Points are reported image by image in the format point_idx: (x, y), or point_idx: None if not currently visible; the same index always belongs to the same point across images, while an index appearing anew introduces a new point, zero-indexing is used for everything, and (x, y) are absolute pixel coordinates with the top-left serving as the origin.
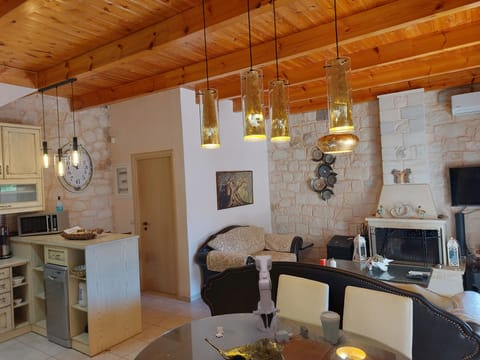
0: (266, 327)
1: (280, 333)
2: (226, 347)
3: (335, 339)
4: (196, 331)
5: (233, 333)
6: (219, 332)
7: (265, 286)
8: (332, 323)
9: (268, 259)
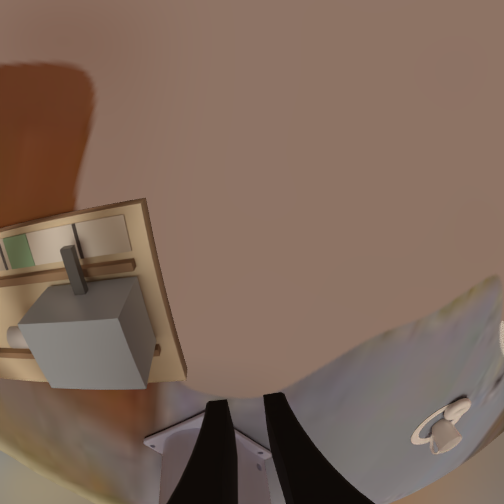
0: (272, 402)
1: (91, 345)
2: (488, 300)
3: None
4: (484, 426)
5: (390, 434)
6: (451, 424)
7: None
8: None
9: None
